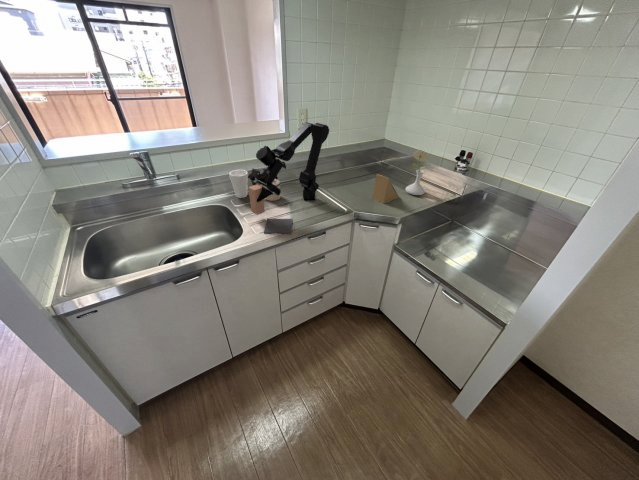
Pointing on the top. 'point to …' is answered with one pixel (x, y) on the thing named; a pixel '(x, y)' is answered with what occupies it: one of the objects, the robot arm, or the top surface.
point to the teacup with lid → (274, 196)
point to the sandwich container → (384, 190)
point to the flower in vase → (416, 187)
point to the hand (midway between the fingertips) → (254, 199)
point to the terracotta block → (254, 194)
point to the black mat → (278, 226)
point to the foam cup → (239, 182)
